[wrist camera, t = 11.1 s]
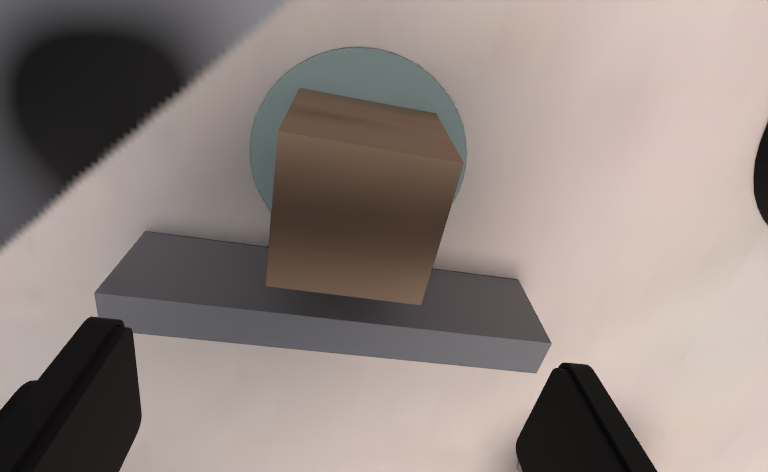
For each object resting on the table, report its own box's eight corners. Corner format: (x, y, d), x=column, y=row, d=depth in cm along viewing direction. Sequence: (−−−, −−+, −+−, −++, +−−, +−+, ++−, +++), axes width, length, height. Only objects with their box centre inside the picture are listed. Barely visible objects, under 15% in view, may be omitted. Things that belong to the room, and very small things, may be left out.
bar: (506, 307, 26) (536, 373, 22) (147, 263, 23) (100, 329, 19) (518, 280, 25) (551, 343, 21) (145, 231, 22) (94, 292, 18)
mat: (341, 280, 24) (341, 285, 24) (205, 138, 20) (202, 141, 20) (501, 181, 22) (503, 185, 22) (385, -7, 17) (386, -7, 17)
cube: (406, 231, 23) (420, 307, 17) (287, 213, 22) (265, 288, 17) (435, 113, 20) (464, 163, 14) (299, 87, 19) (277, 131, 14)
